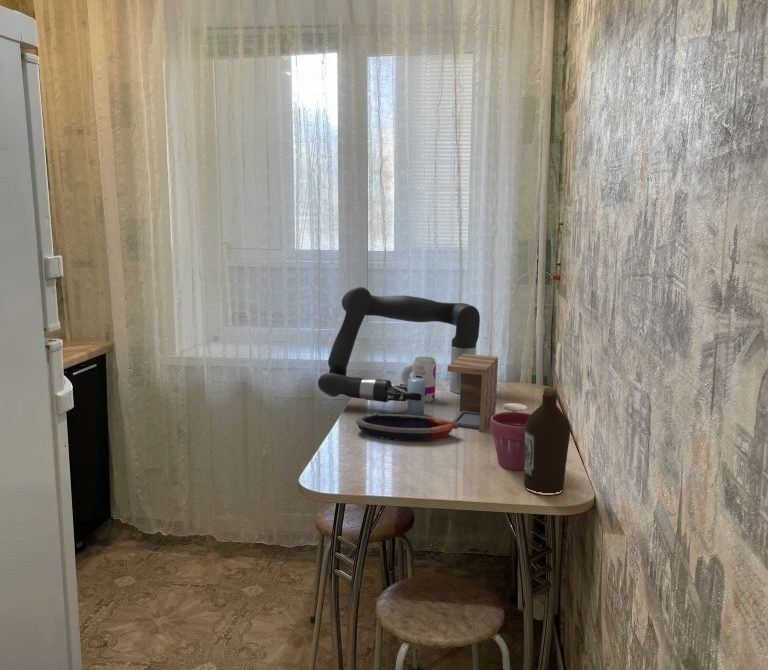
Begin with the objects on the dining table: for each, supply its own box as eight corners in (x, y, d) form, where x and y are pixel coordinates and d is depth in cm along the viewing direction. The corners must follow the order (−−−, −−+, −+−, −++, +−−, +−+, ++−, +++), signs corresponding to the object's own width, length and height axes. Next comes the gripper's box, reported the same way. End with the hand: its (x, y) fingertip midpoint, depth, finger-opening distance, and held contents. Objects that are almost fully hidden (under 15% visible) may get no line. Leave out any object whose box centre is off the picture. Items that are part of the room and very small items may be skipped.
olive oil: (559, 480, 173) (566, 384, 169) (570, 497, 163) (578, 396, 159) (517, 479, 173) (523, 383, 169) (526, 496, 163) (532, 394, 159)
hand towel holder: (499, 421, 209) (486, 403, 230) (498, 435, 210) (486, 415, 230) (554, 421, 210) (536, 403, 230) (553, 435, 211) (536, 415, 231)
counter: (460, 410, 235) (462, 353, 231) (495, 414, 231) (498, 356, 227) (445, 427, 215) (447, 365, 212) (482, 432, 211) (486, 369, 208)
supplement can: (435, 397, 251) (436, 357, 249) (434, 403, 243) (436, 361, 241) (412, 395, 252) (414, 356, 249) (411, 401, 244) (412, 360, 241)
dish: (360, 424, 217) (361, 409, 216) (458, 431, 213) (458, 415, 212) (351, 439, 202) (351, 423, 201) (455, 447, 197) (456, 430, 197)
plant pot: (478, 464, 183) (480, 418, 181) (505, 451, 194) (507, 408, 192) (525, 478, 174) (528, 430, 172) (551, 464, 185) (554, 418, 183)
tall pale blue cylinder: (410, 411, 231) (411, 377, 229) (426, 413, 230) (427, 378, 228) (405, 416, 226) (406, 380, 224) (421, 418, 224) (422, 382, 222)
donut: (427, 388, 264) (428, 362, 262) (425, 390, 260) (426, 364, 259) (401, 386, 266) (402, 361, 264) (399, 388, 263) (400, 362, 261)
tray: (461, 414, 230) (461, 410, 230) (488, 417, 227) (488, 413, 227) (451, 425, 217) (451, 422, 217) (479, 429, 214) (479, 425, 214)
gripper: (368, 383, 224) (418, 389, 219) (382, 374, 237) (430, 379, 232) (368, 405, 225) (417, 411, 220) (382, 395, 239) (429, 400, 233)
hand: (423, 395), depth 226 cm, fingers closed on tall pale blue cylinder, 5 cm apart
